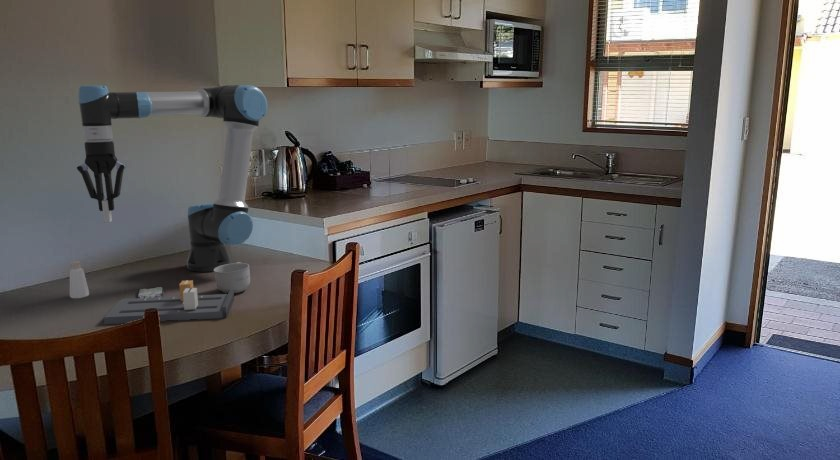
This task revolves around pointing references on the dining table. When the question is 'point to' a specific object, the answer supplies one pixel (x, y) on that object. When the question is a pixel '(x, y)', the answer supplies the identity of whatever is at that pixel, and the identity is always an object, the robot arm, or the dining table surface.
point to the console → (171, 308)
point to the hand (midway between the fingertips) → (108, 221)
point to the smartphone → (150, 292)
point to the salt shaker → (78, 281)
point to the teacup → (232, 277)
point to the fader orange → (184, 285)
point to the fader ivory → (190, 298)
